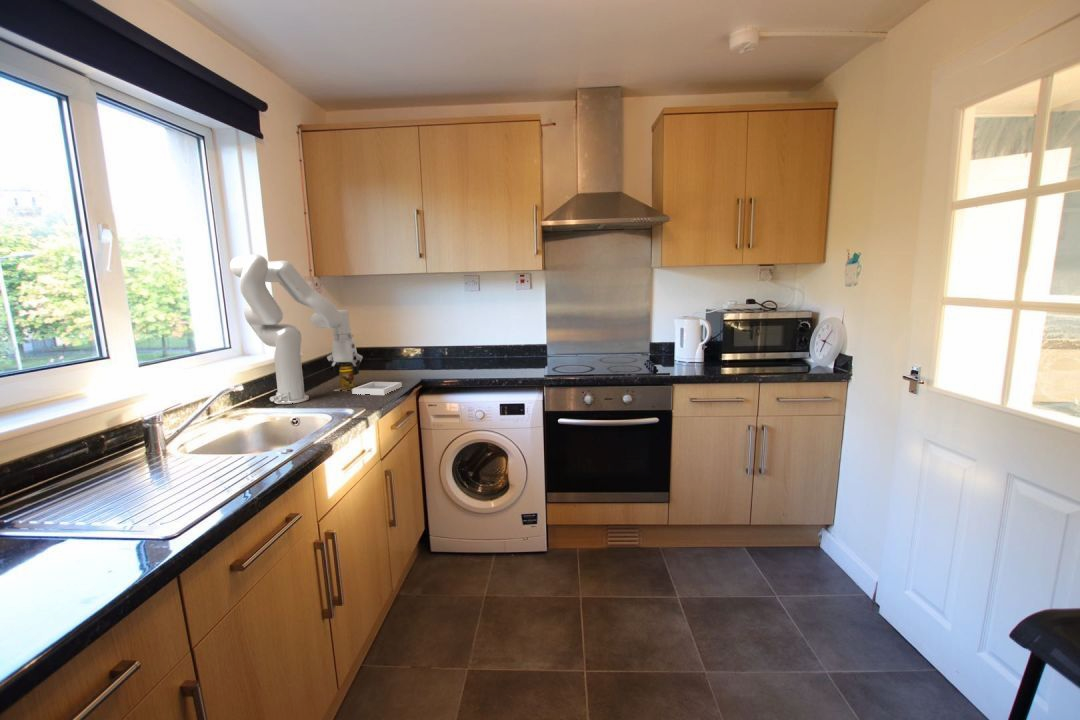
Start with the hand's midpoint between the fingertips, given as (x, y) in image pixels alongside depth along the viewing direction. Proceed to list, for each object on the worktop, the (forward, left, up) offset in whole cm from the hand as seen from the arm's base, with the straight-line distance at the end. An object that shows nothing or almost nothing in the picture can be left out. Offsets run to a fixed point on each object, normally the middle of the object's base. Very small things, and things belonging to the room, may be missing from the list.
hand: (346, 374), depth 211 cm
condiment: (-1, 0, -7) cm, 7 cm away
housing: (-3, -17, -7) cm, 18 cm away
